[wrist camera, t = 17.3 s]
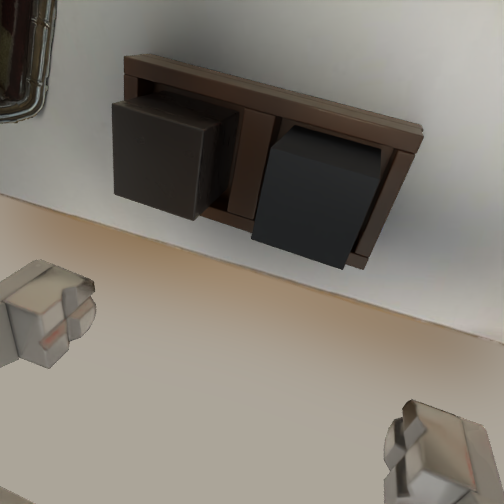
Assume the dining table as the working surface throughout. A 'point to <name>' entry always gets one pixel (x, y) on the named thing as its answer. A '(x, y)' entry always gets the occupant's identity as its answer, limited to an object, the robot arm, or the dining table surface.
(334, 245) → the black block
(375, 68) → the dining table surface
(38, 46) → the patterned wedge
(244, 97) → the brown compartment tray
